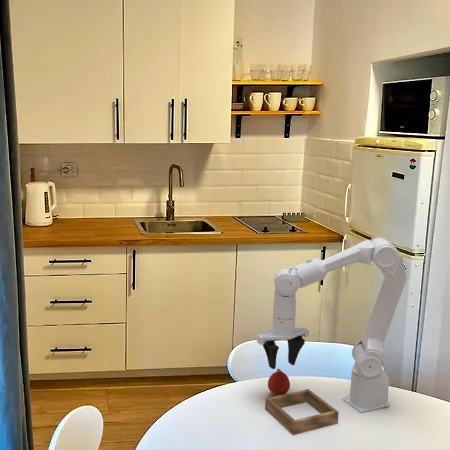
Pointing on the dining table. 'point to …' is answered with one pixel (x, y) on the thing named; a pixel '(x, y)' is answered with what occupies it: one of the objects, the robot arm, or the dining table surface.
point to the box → (304, 424)
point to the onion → (278, 383)
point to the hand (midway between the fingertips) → (281, 365)
